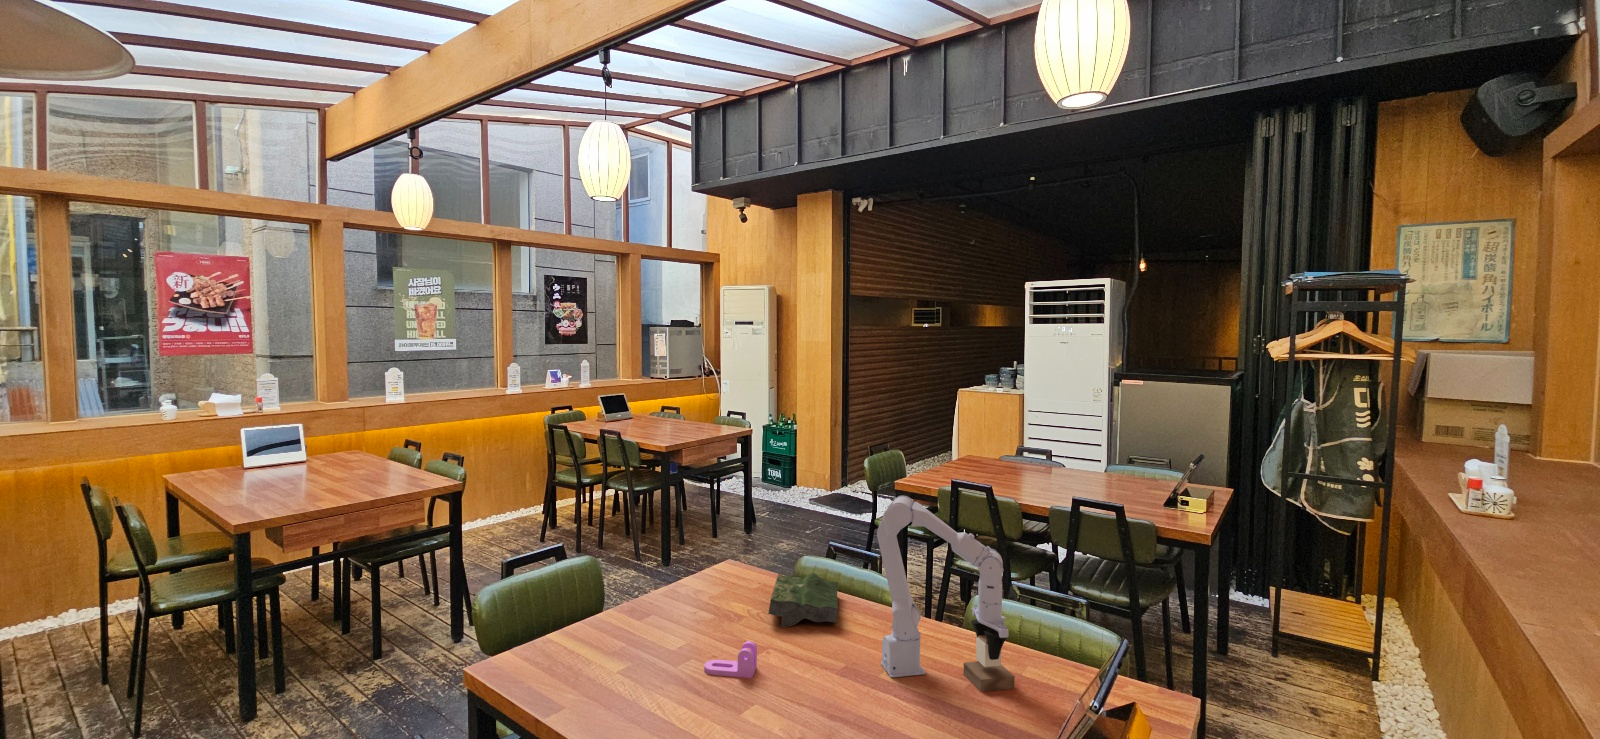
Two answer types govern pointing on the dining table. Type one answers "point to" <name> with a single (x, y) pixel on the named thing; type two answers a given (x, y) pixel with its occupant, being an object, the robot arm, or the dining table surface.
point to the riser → (988, 676)
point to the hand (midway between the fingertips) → (988, 654)
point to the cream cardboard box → (985, 653)
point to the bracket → (736, 663)
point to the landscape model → (804, 599)
